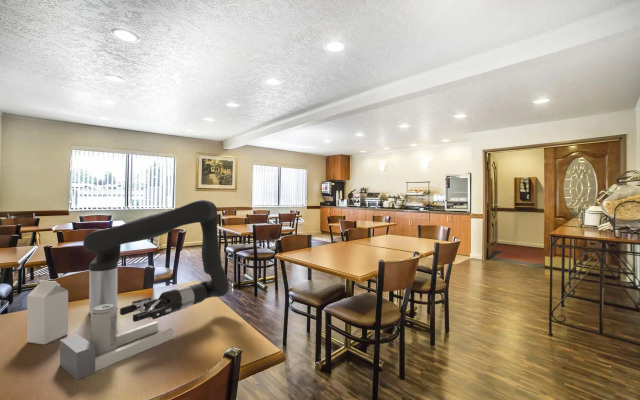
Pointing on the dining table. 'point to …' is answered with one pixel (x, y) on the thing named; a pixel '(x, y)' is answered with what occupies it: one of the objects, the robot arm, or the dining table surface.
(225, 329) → the dining table surface
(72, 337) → the stop channel
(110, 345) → the energy drink can
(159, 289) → the dining table surface
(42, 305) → the milk carton
